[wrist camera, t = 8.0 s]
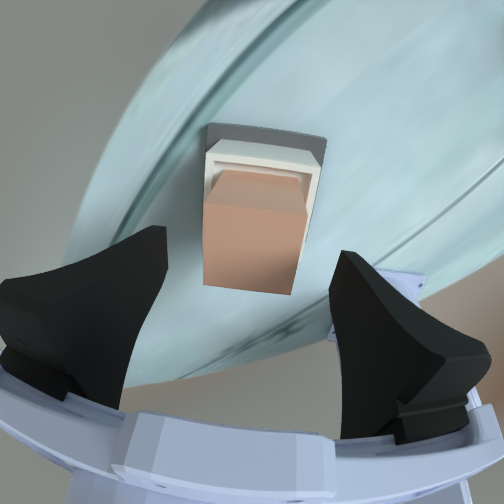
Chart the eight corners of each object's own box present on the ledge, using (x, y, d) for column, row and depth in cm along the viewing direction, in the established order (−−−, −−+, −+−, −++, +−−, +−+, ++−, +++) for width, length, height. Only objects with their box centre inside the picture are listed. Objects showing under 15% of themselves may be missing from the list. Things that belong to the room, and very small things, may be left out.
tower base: (304, 236, 22) (311, 278, 18) (204, 222, 22) (186, 261, 18) (324, 137, 18) (343, 153, 13) (210, 122, 18) (188, 132, 13)
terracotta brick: (286, 241, 17) (290, 295, 13) (220, 233, 17) (203, 284, 13) (297, 177, 15) (308, 215, 11) (224, 169, 15) (204, 202, 11)
